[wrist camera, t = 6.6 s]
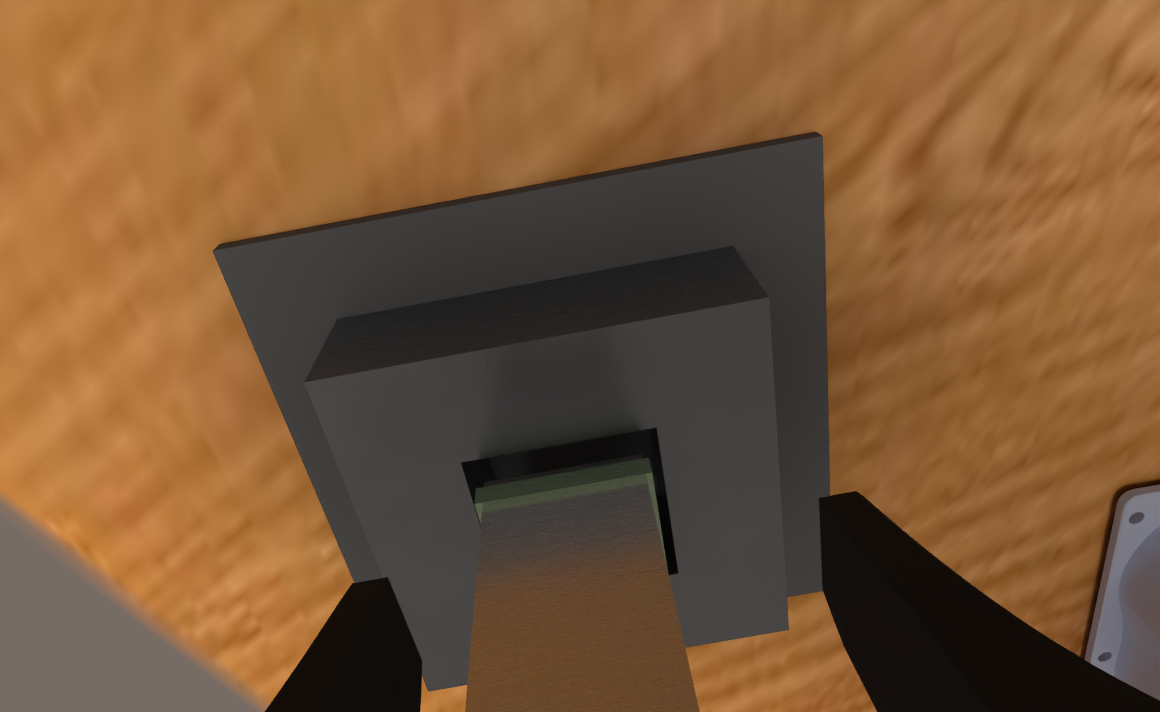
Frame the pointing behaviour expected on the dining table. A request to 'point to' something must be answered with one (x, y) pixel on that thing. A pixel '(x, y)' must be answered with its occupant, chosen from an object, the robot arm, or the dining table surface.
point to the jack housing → (565, 431)
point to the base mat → (553, 250)
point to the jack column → (575, 596)
